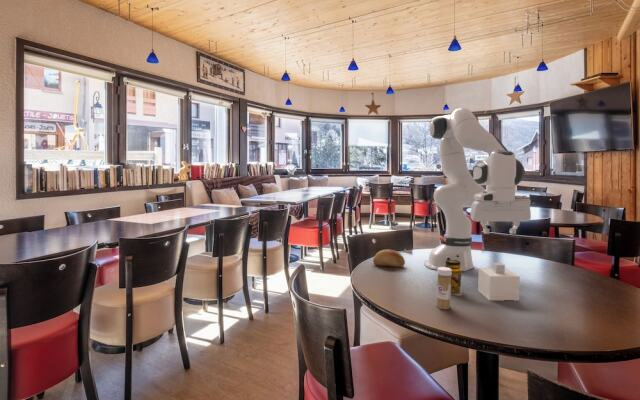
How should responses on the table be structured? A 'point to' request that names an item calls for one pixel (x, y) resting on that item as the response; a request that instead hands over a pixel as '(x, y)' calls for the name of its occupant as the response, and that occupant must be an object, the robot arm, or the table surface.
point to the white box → (498, 283)
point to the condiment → (455, 276)
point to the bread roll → (389, 258)
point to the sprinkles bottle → (444, 287)
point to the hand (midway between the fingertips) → (499, 233)
